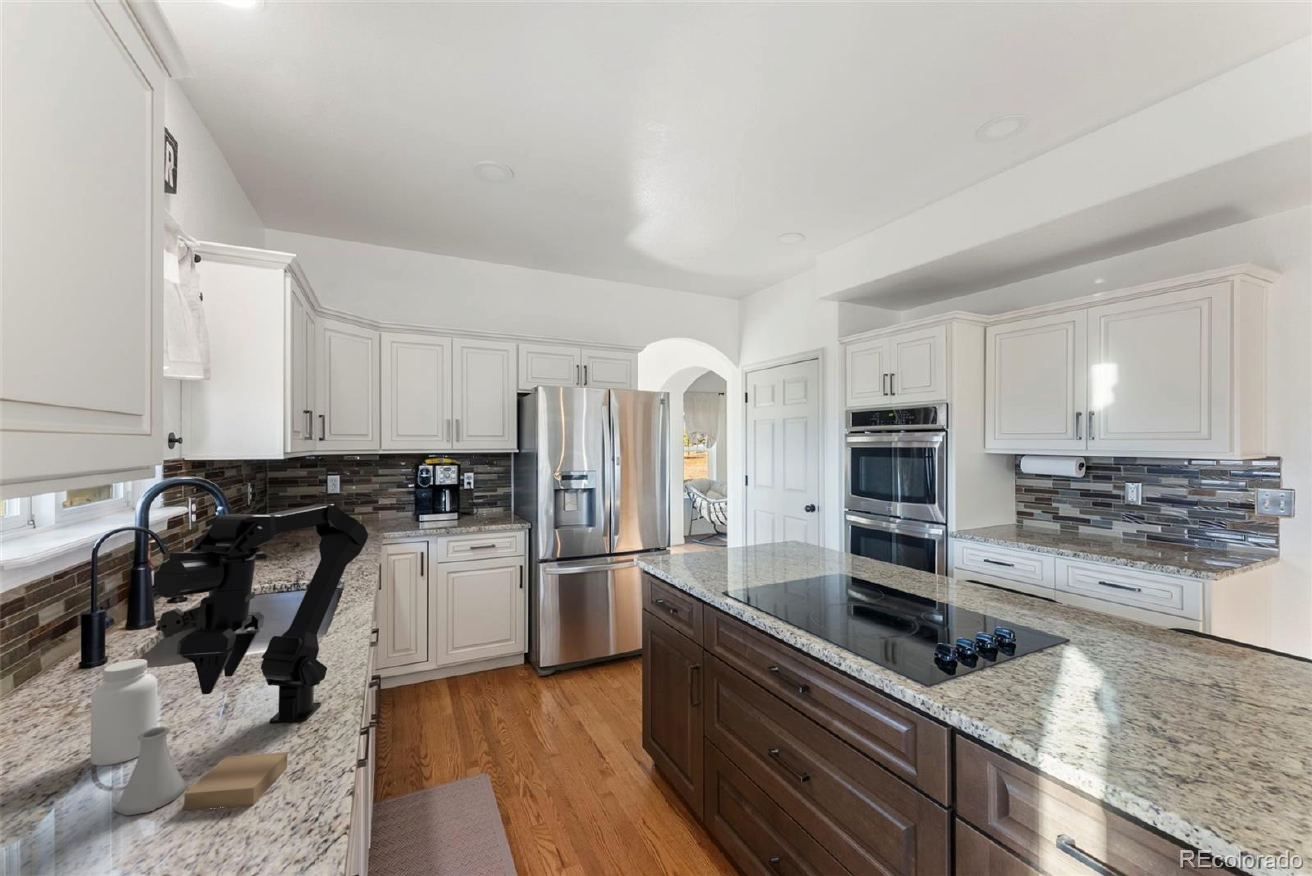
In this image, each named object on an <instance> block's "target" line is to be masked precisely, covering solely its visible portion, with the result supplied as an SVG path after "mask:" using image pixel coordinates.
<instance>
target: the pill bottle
mask: <svg viewBox="0 0 1312 876" xmlns="http://www.w3.org/2000/svg"><path fill="white" fill-rule="evenodd" d="M102 679H103V680H102V682H103V683H102V684H101V685H99V686H97V687H96V688H95V689H94V690H93V692H92V694H91V698H90V699H91V700H90V745H89V746H90V750H89V752H90V762H91V764H93V765H95V766H99V767H100V766H110V765H116V764H119V763H121V764H122V763H123V762H124V763H125V762H126V761H127V762H128V761H130V760H132V759H135V758H138V756H139V753H140V744H141V742H140V740H138V736H139V735H140V734H142V733H143V732H145V731H147V730H150V729H152V728H157V727H158V680H157V678H156V676H155V675H153V674H150V673H148V660H147V659H144V658H138V659H135V658H134V659H129V660H124V661H119V662H117V663H114V664H110V665H108V666H106V667H105V668H104V669H103V670H102Z"/></svg>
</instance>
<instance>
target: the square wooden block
mask: <svg viewBox="0 0 1312 876" xmlns="http://www.w3.org/2000/svg"><path fill="white" fill-rule="evenodd" d="M287 768H288V752H274V753H260V754H247V755H246V754H243V755H234V756H233V755H232V756H225V757H224V758H223V759H222V760H220V762H219V763H217V764H216V765H215V766H214V767H213V768H211V769H210V770H209V771H208V772H207V773H206V774H205V775H204V776H202V778H200V779H199V780H198V781H197V782H195V784H194V785H192V786H191V787H190V788H189V789H188V790H186V792H184V797H183V799H184V801H183V802H184V803H183V812H184V811H188V812H196V811H195V810H199V811H205V810H204V809H210V808H212V809H211V810H214V809H213V808H220V807H221V808H222V807H233V808H239V807H240V808H241V807H242V808H243V807H252V806H255V805H256V804H257V802H258V801H259V800H260V799H261V798H262V797H263V796H264V795H265V794H266V793H267V791H268V790H269V789H270V788H271V787H272V785H274V783H276V781H278V779H279V778H280V776H281V775H283V774H284V772H285V771H286V770H287ZM222 809H223V808H222ZM193 810H194V811H193Z"/></svg>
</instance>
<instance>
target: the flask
mask: <svg viewBox="0 0 1312 876" xmlns="http://www.w3.org/2000/svg"><path fill="white" fill-rule="evenodd" d="M169 732H170V728H169V727H168V726H157V728H152V729H150V730H147V731H145V732H143V733H142V734H140V735H139V736H138V740H140V742H141V744H140V753H139V756H138V757H137V761H136V764H135V766H134V769H133V770H132V773H131V775H130V777H129V780H128V782H127V785H126V786H125V788H124V790H123V792H122V794H121V796H120V798H119V800H118V803H117V804H116V806H115V809H114V811H115V812H117V813H119V814H122V815H124V816H132V815H138V814H144V813H151V812H150V811H152V812H155V809H156V808H158V807H159V808H161V807H163V806H165V805H167V804H170V803H171V802H173V801H174V800H176V799H177V798H178V797H179V796H180V795H181V794H182V793H183V792H184V791H185V790H186V788H188V787H187V784H186V782H185V781H184V779H183V777H182V776H181V774H180V771H178V768H177V766H176V764H175V762H174V761H173V758H172V756H171V755H170V752H169V748H168V747H169V746H168V743H167V742H168V741H167V735H168V733H169ZM159 808H158V809H159ZM156 810H157V809H156Z"/></svg>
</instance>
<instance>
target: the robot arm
mask: <svg viewBox="0 0 1312 876" xmlns="http://www.w3.org/2000/svg"><path fill="white" fill-rule="evenodd" d="M311 527H312V528H313V531H314V533H315V535H316V536H318V537H319V538H320V539H319V540H320V541H319V543H318V549H319V554H320V555H319V556H320V561H319V563H318V565H317V567H316V569H315V572H314V574H313V575H312V578H311V581H310V582H309V585H308V587H307V589H306V590H305V594H304V596H303V598H302V599H301V602H300V605H299V607H298V609H297V610H296V613H295V615H294V617H293V619H292V622H291V624H290V626H289V628H288V629H287V630H286V631H285V632H284V633H283V634H281V635H280V636H279V635H273V636H272V637H271V639H270V640H269V643H268V645H267V648H266V649H265V652H264V653H263V654H262V656H261V659H262V661H261V665H260V670H261V673H262V675H263V677H264V678H265V680H266V683H267V686H270V687H271V686H276V687H278V711H277V713H275V715H273V716H272V717H271V718H270V719H269V724H273V723H274V724H275V723H289V722H290V723H291V722H304V721H306V720H308V719H309V718H310V717H311V716H312V715H313V714H314V713H315V712H316V711H317V709H319V708H321V706H322V702H319V701H318V702H314V700H315V697H314V695H315V686H318V685H320V684H321V683H320V682H321V681H323V680H325V678H326V676H327V675H326V674H327V672H328V671H327V670H328V667H327V666H326V665H325V664H323V663H322V662H320V661H319V660H318V659H317V658H318V655H319V652H320V647H319V641H318V640H319V639H318V632H319V630H320V628H321V626H322V623H323V621H324V618H325V616H326V613H327V611H328V609H329V606H330V605H331V602H332V600H333V597H334V596H335V593H336V591H337V588H338V585H339V583H340V580H341V578H342V577H343V574H344V572H345V569H346V567H347V566H348V565H349V563H351V562H352V561H353V560H354V559H356V558H357V557H358V556H359V555H360V554H361V552H362V550H363V548H364V547H365V545H366V543H367V541H368V538H369V533H368V530H367V528H366V526H365V525H364V524H362V523H361V522H360V521H359V520H358V519H356V518H354V517H352V516H351V515H350V514H348V513H345V512H344V511H343V510H342V509H341V508H340V507H339V506H338V505H336V504H334V503H314V504H311V505H308V506H302V507H298V508H292V509H287V510H282V511H277V512H270V513H265V514H244V513H242V514H236V513H235V514H230V513H228V514H227V513H226V514H225V513H224V514H221V515H220V516H219V515H218V516H217V517H216V518H215V520H214V522H213V523H212V524H211V527H209V529H207V531H206V532H205V533H204V534H203V536H201V538H200V539H199V541H197V543H196V544H195V545H194V546H193V547H192V549H191V550H190V551H187V552H186V551H173V552H169V558H168V560H167V561H166V562H165V561H164V562H163V564H162V565H160V567H159V568H158V569H157V571H156V573H155V574H154V579H153V585H154V589H155V591H156V592H157V594H158V595H160V597H162V598H164V599H171V598H177V597H184V596H192V595H197V594H204V593H208V595H207V596H203V598H202V599H201V600H200V604H199V605H198V606H195V607H192V608H189V609H185V610H183V611H182V610H181V609H180V607H179V608H178V607H177V608H174V609H172V610H167V611H164V612H163V613H161V616H160V618H159V619H158V620H156V622H157V626H156V627H155V630H156V631H157V632H161V633H162V636H163V639H168V638H171V637H173V636H175V634H178V633H182V632H185V631H188V630H191V629H194V628H195V630H193V631H192V632H189V633H188V634H186V635H184V637H181V639H180V640H178V642H177V648H176V655H177V656H181V658H182V659H186V660H188V661H190V662H192V663H193V664H194V666H195V670H196V675H197V679H198V683H199V687H200V691H201V692H200V693H201V694H202V695H205V696H206V695H210V694H212V692H213V691H214V689H215V687H216V685H217V684H218V681H219V680H220V678H221V676H222V673H223V672H224V674H223V675H224V677H226V678H228V677H232V676H234V674H235V672H236V671H237V669H238V668H239V666H240V664H241V663H242V661H243V659H244V657H245V656H246V654H247V652H249V651H248V650H249V649H250V648H251V646H252V644H253V643H254V641H255V639H256V637H257V636H258V634H259V633H260V631H261V630H260V629H261V628H263V627H264V622H265V616H264V615H263V614H262V613H261V612H260V611H250V606H251V600H253V599H255V595H256V591H252V590H253V589H252V588H253V581H254V575H255V566H256V561H262V560H263V561H264V560H266V559H268V555H267V554H266V553H265V552H263V551H262V550H261V549H260V546H262V545H265V544H267V543H269V542H271V540H273V539H274V538H275V537H277V536H279V535H282V534H285V533H290V532H293V531H295V532H296V531H299V530H302V529H306V528H311ZM251 628H254V629H251Z"/></svg>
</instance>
